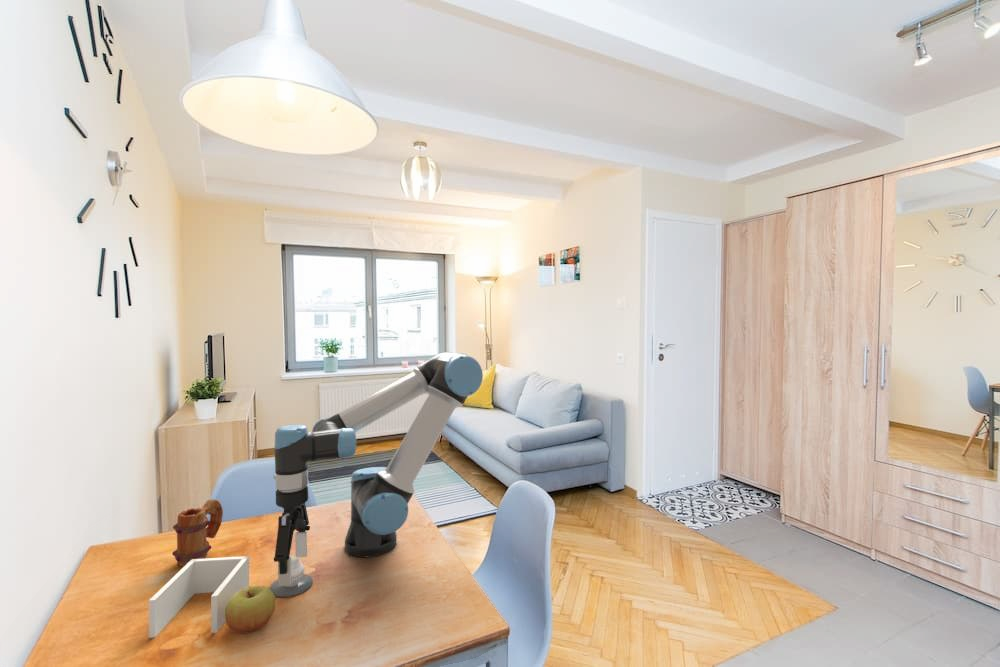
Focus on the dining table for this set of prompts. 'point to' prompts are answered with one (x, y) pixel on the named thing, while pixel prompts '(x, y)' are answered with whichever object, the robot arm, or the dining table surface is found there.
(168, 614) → the cubby
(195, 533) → the mug
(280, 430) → the robot arm
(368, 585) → the dining table surface
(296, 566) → the white rounded ribbed piece
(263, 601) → the apple
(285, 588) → the coaster
